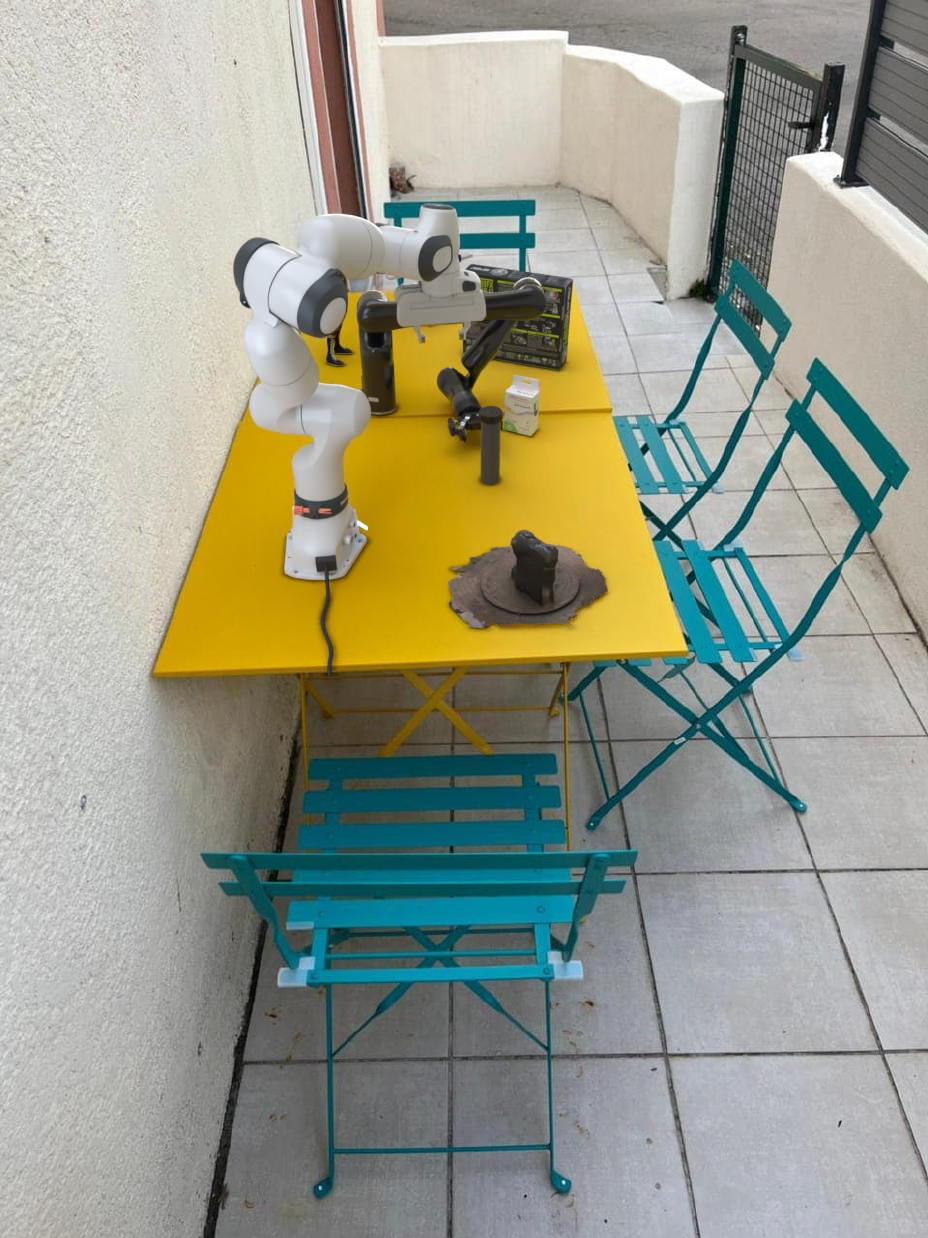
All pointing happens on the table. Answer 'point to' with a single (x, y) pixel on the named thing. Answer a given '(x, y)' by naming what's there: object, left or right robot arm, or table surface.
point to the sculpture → (524, 584)
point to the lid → (490, 415)
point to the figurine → (336, 347)
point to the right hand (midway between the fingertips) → (481, 437)
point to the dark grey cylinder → (490, 453)
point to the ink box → (522, 406)
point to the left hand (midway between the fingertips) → (442, 340)
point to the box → (529, 338)
